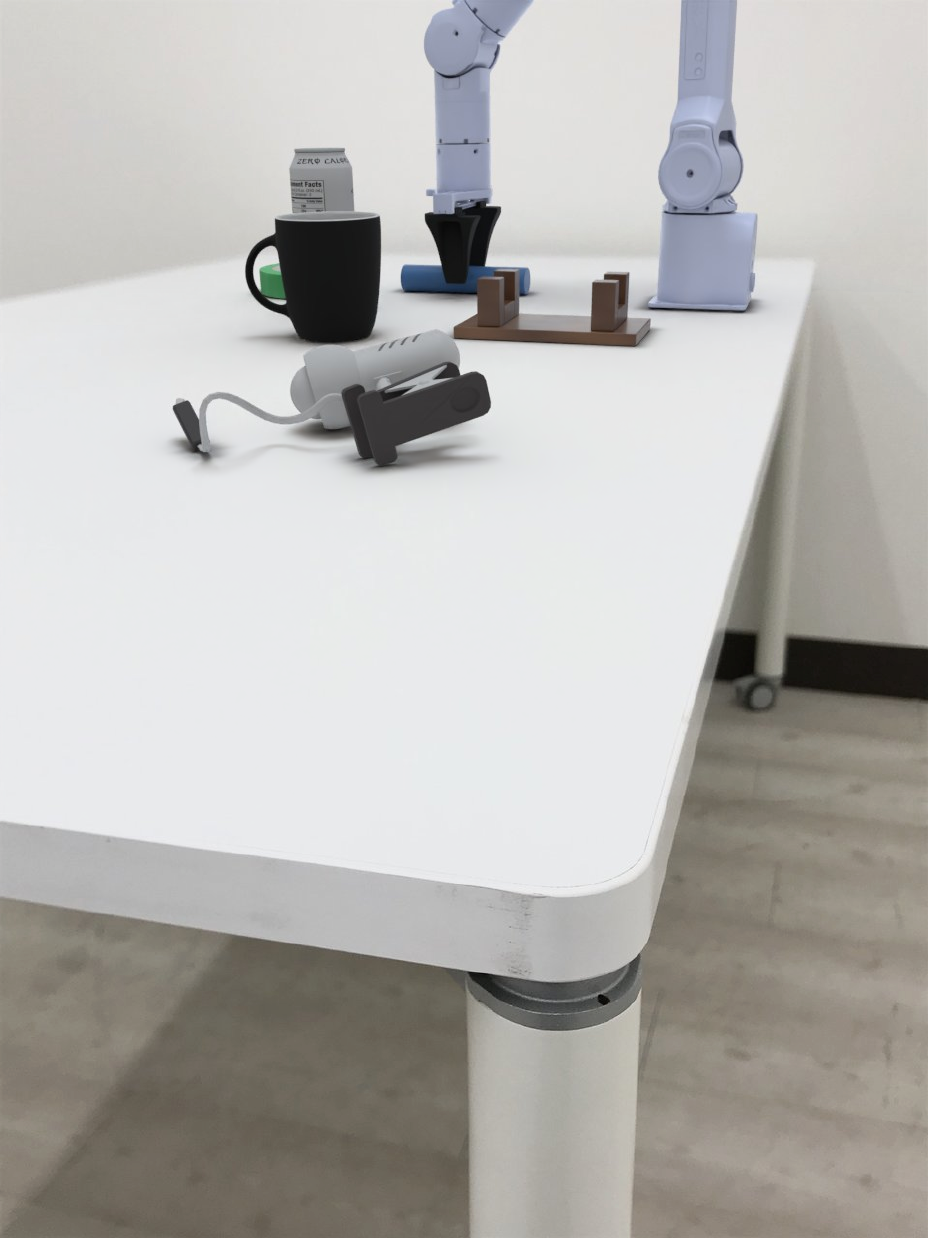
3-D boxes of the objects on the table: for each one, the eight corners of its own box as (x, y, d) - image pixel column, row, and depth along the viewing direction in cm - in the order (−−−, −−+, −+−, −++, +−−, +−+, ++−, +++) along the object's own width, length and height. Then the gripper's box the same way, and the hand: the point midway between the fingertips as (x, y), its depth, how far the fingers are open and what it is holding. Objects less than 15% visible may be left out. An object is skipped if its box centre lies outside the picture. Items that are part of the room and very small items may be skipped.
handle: (530, 293, 121) (530, 266, 120) (523, 295, 118) (524, 268, 117) (409, 289, 124) (408, 263, 123) (400, 291, 122) (400, 264, 121)
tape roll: (355, 298, 118) (354, 272, 117) (252, 299, 118) (250, 274, 117) (365, 284, 128) (364, 259, 127) (270, 285, 128) (268, 261, 127)
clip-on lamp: (193, 528, 62) (502, 440, 62) (151, 424, 58) (478, 332, 59) (196, 452, 72) (463, 376, 72) (161, 358, 68) (441, 281, 69)
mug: (390, 327, 102) (386, 210, 98) (379, 345, 94) (373, 219, 90) (262, 327, 103) (252, 211, 98) (239, 346, 95) (227, 220, 90)
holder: (650, 329, 99) (653, 271, 97) (635, 346, 92) (639, 284, 90) (479, 322, 104) (479, 267, 102) (453, 338, 97) (452, 278, 95)
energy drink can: (370, 310, 111) (362, 147, 105) (316, 316, 108) (305, 149, 102) (341, 302, 116) (332, 146, 109) (289, 308, 113) (277, 148, 106)
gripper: (448, 141, 122) (450, 269, 128) (402, 145, 110) (407, 287, 115) (509, 141, 120) (509, 271, 126) (470, 145, 108) (472, 289, 113)
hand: (464, 279), depth 121 cm, fingers open, 6 cm apart
